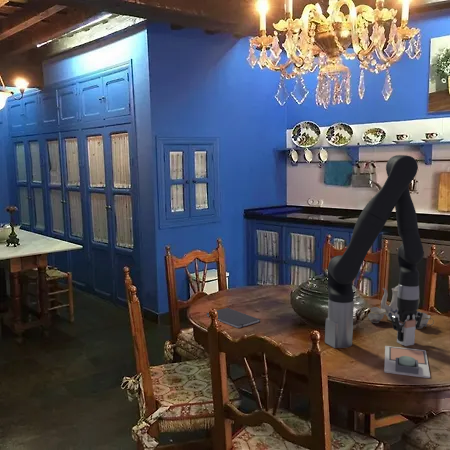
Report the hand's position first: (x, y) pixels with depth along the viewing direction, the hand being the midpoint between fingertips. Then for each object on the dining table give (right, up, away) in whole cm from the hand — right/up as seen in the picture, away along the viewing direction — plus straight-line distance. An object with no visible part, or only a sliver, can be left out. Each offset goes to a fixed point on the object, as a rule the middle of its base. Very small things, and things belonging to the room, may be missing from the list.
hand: (405, 339), depth 192 cm
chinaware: (+5, +2, +24) cm, 25 cm away
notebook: (-65, +2, +28) cm, 71 cm away
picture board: (-6, -4, -17) cm, 18 cm away
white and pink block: (0, -1, 0) cm, 1 cm away
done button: (-8, -3, -24) cm, 25 cm away
